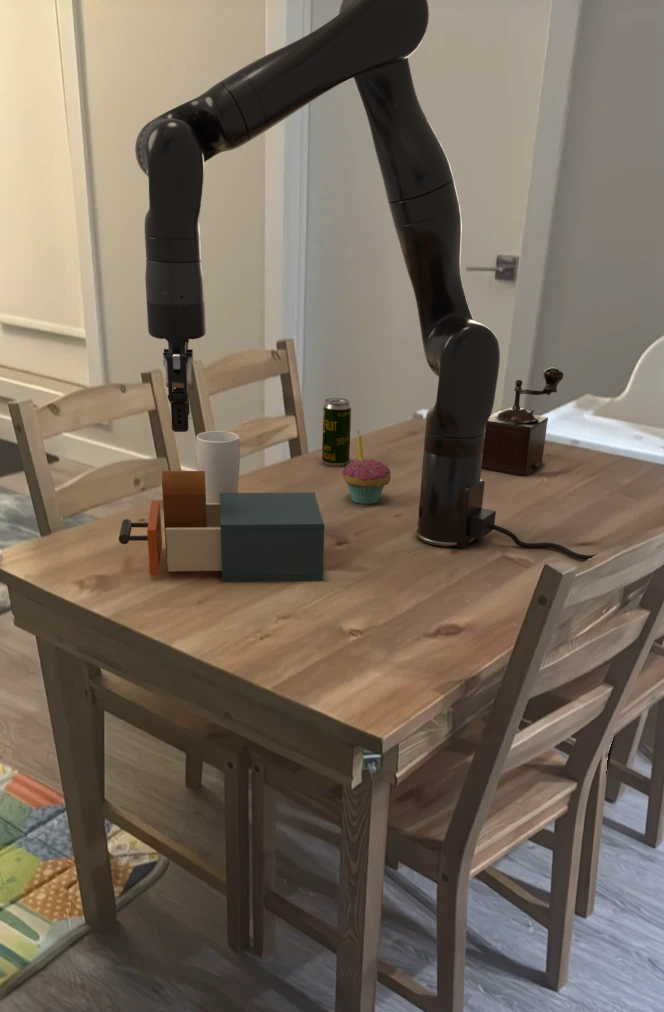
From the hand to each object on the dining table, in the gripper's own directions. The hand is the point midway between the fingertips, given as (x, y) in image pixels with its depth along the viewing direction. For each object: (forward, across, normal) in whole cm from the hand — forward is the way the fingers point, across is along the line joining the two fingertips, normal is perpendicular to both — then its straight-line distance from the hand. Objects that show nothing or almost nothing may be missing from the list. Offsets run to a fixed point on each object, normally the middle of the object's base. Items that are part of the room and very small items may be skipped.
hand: (181, 423), depth 137 cm
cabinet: (+21, 0, -12) cm, 24 cm away
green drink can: (+21, +52, -28) cm, 62 cm away
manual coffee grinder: (+21, +52, -64) cm, 85 cm away
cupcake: (+21, +29, -31) cm, 47 cm away
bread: (+19, 0, 0) cm, 19 cm away
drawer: (+20, 0, +1) cm, 20 cm away
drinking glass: (+21, +15, -5) cm, 26 cm away
